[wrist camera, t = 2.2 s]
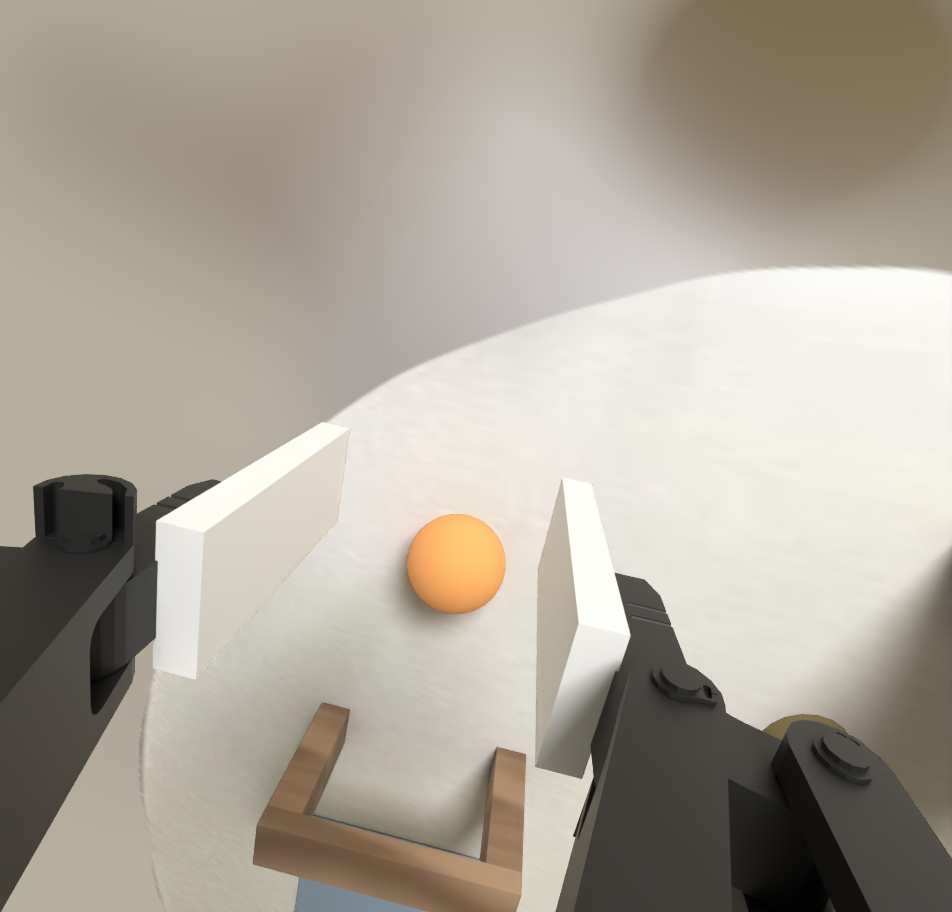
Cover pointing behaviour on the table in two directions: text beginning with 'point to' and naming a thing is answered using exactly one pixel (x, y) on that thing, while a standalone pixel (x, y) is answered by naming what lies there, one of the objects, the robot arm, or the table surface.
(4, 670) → the robot arm
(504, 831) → the bridge
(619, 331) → the table surface
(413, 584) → the ball
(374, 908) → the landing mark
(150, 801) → the table surface
